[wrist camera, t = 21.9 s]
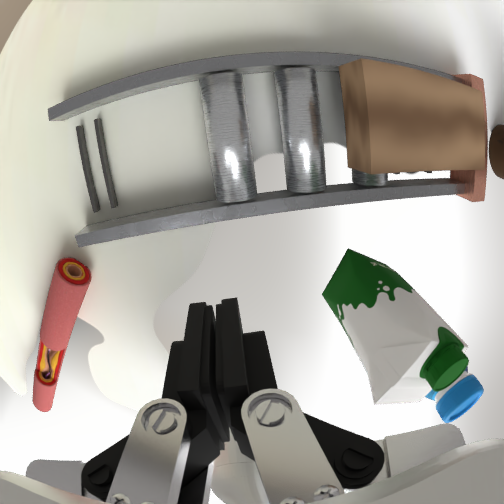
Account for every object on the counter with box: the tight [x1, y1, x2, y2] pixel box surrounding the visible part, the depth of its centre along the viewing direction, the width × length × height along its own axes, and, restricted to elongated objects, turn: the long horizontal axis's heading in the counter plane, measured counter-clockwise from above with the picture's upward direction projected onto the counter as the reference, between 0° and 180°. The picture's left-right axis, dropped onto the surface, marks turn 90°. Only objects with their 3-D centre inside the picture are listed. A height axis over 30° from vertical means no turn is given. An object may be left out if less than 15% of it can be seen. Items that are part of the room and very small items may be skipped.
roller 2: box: [274, 68, 326, 193], centre depth 25 cm, size 12×4×4 cm, turn 7°
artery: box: [33, 258, 91, 412], centre depth 34 cm, size 42×5×5 cm, turn 143°
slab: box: [338, 58, 485, 174], centre depth 21 cm, size 10×19×4 cm, turn 97°
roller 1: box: [199, 72, 257, 203], centre depth 24 cm, size 12×4×4 cm, turn 7°
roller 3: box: [352, 169, 388, 186], centre depth 25 cm, size 12×4×4 cm, turn 7°
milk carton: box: [322, 249, 469, 404], centre depth 26 cm, size 9×9×20 cm
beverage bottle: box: [425, 367, 484, 423], centre depth 31 cm, size 8×8×20 cm
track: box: [48, 52, 488, 247], centre depth 24 cm, size 17×51×5 cm, turn 97°
